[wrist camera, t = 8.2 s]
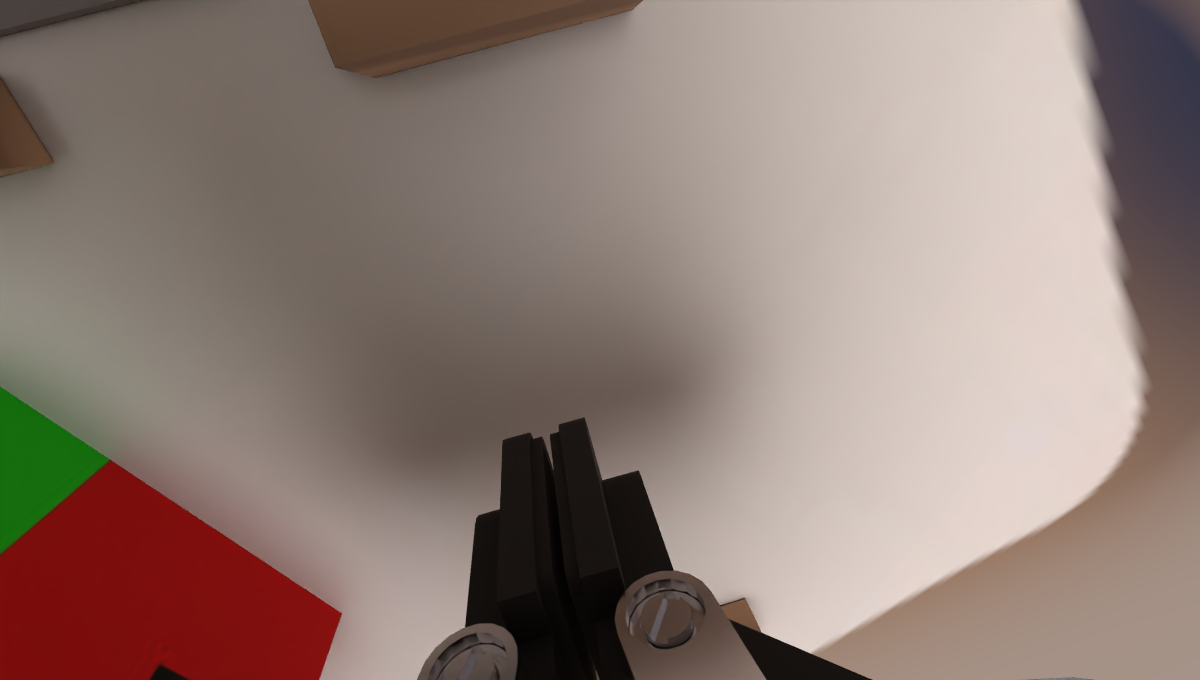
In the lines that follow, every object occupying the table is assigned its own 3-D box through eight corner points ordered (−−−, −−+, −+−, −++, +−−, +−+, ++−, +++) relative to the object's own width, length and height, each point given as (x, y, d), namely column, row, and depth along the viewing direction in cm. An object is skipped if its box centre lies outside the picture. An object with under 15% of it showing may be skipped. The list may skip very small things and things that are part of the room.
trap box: (-932, 314, 9) (-1938, 454, 5) (614, -86, 10) (674, -203, 6) (-75, 887, 17) (-242, 1108, 13) (751, 631, 17) (815, 769, 14)
